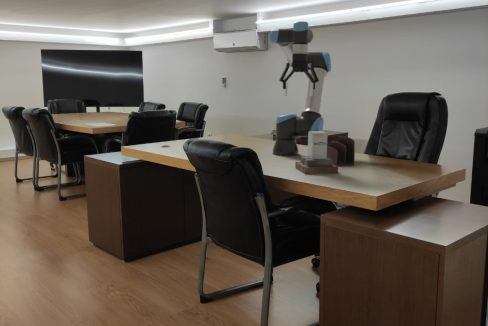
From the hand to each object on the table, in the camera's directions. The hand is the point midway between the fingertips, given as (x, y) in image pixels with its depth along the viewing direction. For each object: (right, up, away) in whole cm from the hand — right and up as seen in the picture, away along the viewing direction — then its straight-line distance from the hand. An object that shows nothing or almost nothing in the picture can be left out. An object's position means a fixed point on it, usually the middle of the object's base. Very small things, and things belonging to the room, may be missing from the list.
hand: (298, 95), depth 244 cm
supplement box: (+7, -32, -17) cm, 37 cm away
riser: (+7, -38, -16) cm, 42 cm away
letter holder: (+21, -35, +7) cm, 41 cm away
